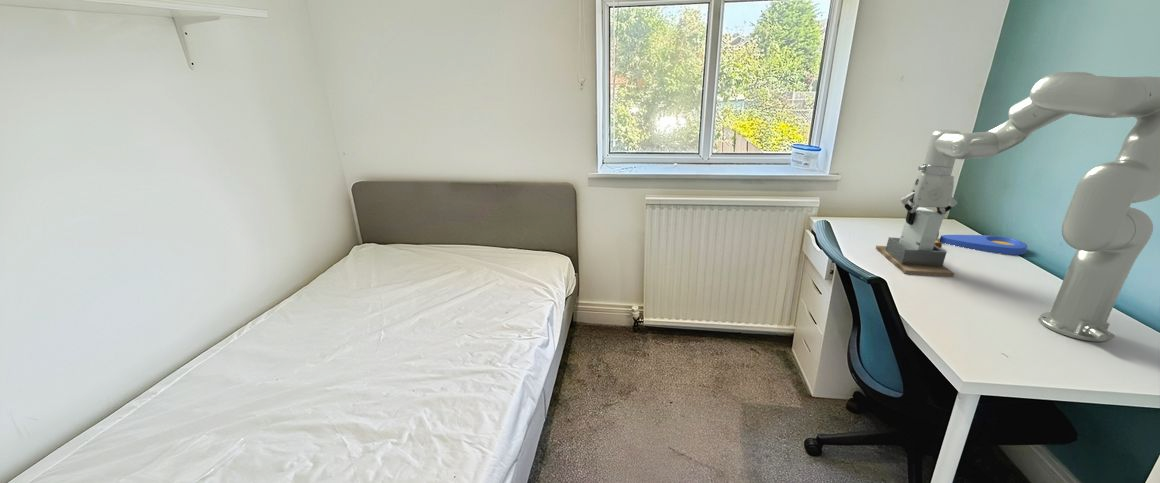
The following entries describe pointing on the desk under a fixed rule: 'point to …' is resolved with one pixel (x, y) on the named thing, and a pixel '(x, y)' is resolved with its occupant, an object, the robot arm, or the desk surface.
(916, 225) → the skincare box
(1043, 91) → the robot arm
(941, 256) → the square box holder
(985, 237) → the location marker
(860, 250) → the desk surface
